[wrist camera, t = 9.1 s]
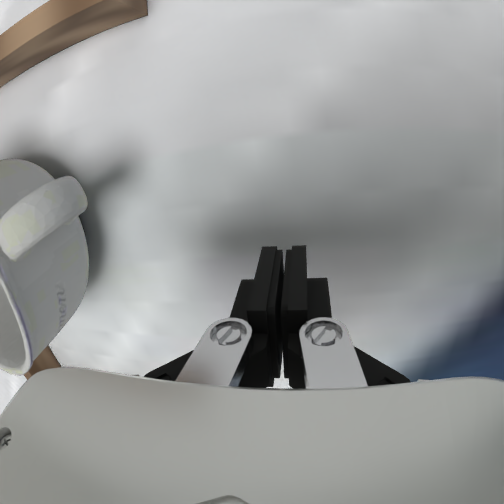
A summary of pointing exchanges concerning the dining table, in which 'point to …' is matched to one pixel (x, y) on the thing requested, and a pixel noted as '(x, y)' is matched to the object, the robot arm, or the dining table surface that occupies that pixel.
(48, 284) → the teacup
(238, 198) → the dining table surface
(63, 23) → the walnut bay
